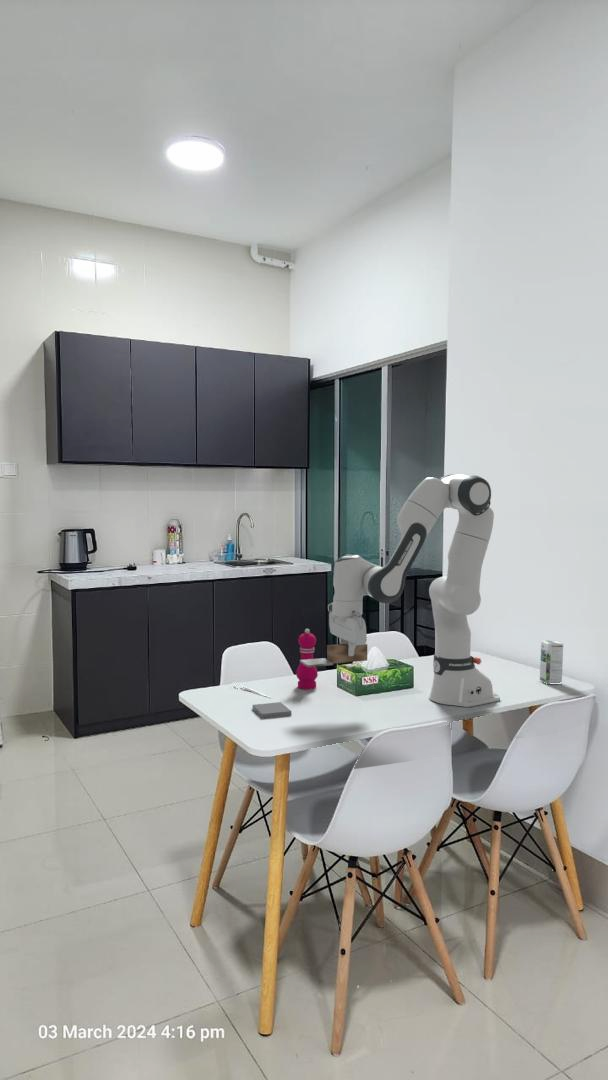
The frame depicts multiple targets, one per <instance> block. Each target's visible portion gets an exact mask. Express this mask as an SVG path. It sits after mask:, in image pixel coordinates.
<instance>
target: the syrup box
mask: <svg viewBox="0 0 608 1080" xmlns="http://www.w3.org/2000/svg"><path fill="white" fill-rule="evenodd" d="M563 657H564V643H561V642H559V641H556V640H549V639H548V640H547V639H545V640H541V641H540V658H539V659H540V661H539V681H540V680H541V681H542V683H543V682H545V683H547V684H550V683H560V682H562V683H563V661H564V660H563V659H564V658H563ZM541 681H540V682H541ZM545 683H544V684H545Z"/></svg>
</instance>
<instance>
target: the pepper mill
mask: <svg viewBox="0 0 608 1080" xmlns="http://www.w3.org/2000/svg"><path fill="white" fill-rule="evenodd" d="M310 630H311V629H309V628H305V629H304V633H302V634H299V637H298V640H297V641H298V644H299V646H300V647H299V653H300V656H301V657H300V660H307V659H314V653H315V645H316V643H317V637H316V636H315V635H314V634H313V633H311V631H310ZM318 673H319V672H318V669H317V666H316V667H307V666H305V665H304V664H302V663H301V662H300V661H299V665H298V667H297V670H296V678H297V679H298V681H297V689H298V688H299V689H300V688H301V689H302V690H313V688H314V689H316V688H317V681H316V679H317V678H318V675H319V674H318Z"/></svg>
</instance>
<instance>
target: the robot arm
mask: <svg viewBox="0 0 608 1080" xmlns="http://www.w3.org/2000/svg"><path fill="white" fill-rule="evenodd" d="M491 499H492V489H491V486H490V483H489V482H488V481H487V480H486V479H484V478H483V477H481V476H479V475H474V474H473V475H470V474H466V473H465V474H464V473H459V474H448V475H445V476H442V477H440V478H438V477H430V476H429V477H426V478H424V479H422V481H421V482H420V483H419V484H418V485H417V486H416V487H415V489H413V491H412V492H411V493H410V495H409V496H408V498H407V499H406V501H405V502H404V503H403V505H402V507H401V509H400V511H399V513H398V516H397V519H396V521H397V522H396V523H397V527H398V529H399V531H400V540H399V543H398V544H397V547H396V548H395V549H394V552H393V554H392V555H391V557H390V559H389V561H388V563H386V564H385V565H384V566H381V565H378V564H374V563H372V562H370V561H368V560H366V559H364V558H362V556H360V555H359V554H348V555H344V556H341V557H340V556H339V558H337V559H336V561H335V562H334V567H333V579H332V580H333V582H332V585H333V588H334V594H333V601H332V602H331V603H329V604H327V610H328V612H329V614H328V616H329V617H328V618H329V619H328V625H329V632H330V634H331V635H333V636H336V637H338V639H339V644H348V645H349V647H348V650H347V655H348V656H354V650H355V647H356V645H364V644H367V639H368V638H367V625H366V621H365V619H364V618H363V616H362V615H363V604H364V603H363V597H365V596H369V597H371V598H373V599H374V600H375V601H377V602H379V603H381V604H390V603H391V604H392V603H394V602H395V601H397V600H398V599H400V596H402V594H403V591H404V589H405V583H406V579H407V576H408V574H409V571H410V569H411V568H412V565H413V564H414V562H415V561H416V558H417V557H418V555H419V553H420V551H421V550H422V547H423V545H424V543H425V541H426V539H427V536H428V535H429V533H430V532H431V530H432V528H433V527H434V525H435V524H436V522H437V520H438V519H439V517H440V515H442V512H443V511H444V510H445V509H446V508H449V509H453V510H457V513H458V522H457V525H456V527H455V530H454V534H453V537H452V540H451V544H450V547H449V549H448V552H447V560H448V562H447V563H448V565H447V573H446V574H447V575H443V576H440V577H437V578H435V579H434V580H433V581H432V582H431V583H430V585H429V588H428V594H429V598H430V601H431V608H432V609H431V610H432V616H433V622H434V632H435V633H434V634H435V635H434V637H435V640H434V643H435V644H434V649H435V650H434V654H433V663H432V665H433V679H432V686H431V691H430V694H429V697H428V698H429V700H431V701H433V702H435V703H438V704H440V705H441V704H442V705H449V706H459V707H465V708H470V707H475V706H480V705H484V704H485V705H486V704H490V703H494V702H499V700H500V701H501V697H500V696H499V695H498V694H497V693H495V692H494V691H493V683H492V681H491V679H490V678H489V677H488V676H487V675H485V674H484V673H483V672H482V671H480V670H479V669H478V668H477V667H476V665H481V663H482V659H481V657H478V656H475V657H474V656H472V655H471V641H472V639H471V637H472V635H471V634H472V633H471V629H470V626H469V622H468V617H467V616H469V615H472V614H475V612H476V611H478V609H479V607H480V605H481V603H482V602H481V600H482V598H481V593H480V589H481V578H482V577H481V575H482V567H483V563H484V559H485V557H486V553H487V550H488V547H489V543H490V541H491V540H490V539H491V535H492V532H493V527H494V526H493V525H494V519H495V514H494V511H493V509H492V508H491V507H490V506H491V502H492V501H491ZM475 664H476V665H475Z"/></svg>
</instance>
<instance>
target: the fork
mask: <svg viewBox="0 0 608 1080" xmlns="http://www.w3.org/2000/svg"><path fill="white" fill-rule="evenodd" d="M231 683H232V684H233V687H234V688H235V689H236V688H238V689H237V690H239V688H243V687H246V686H244V685H242V684H241V682H239V680H237V681H231ZM244 690H245V691H247V692H250V691H251V692H250V693H253V692H255V693H258V694H257V695H259V694H261V695H260V696H262V695H264V696H263V697H265V696H268V697H270V696H269V695H266V694H264V693H262V692H260V691H257V690H255V689H253V688H251V687H246V688H243V689H241V690H240V691H244ZM255 693H254V694H255ZM268 697H267V698H268Z"/></svg>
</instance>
